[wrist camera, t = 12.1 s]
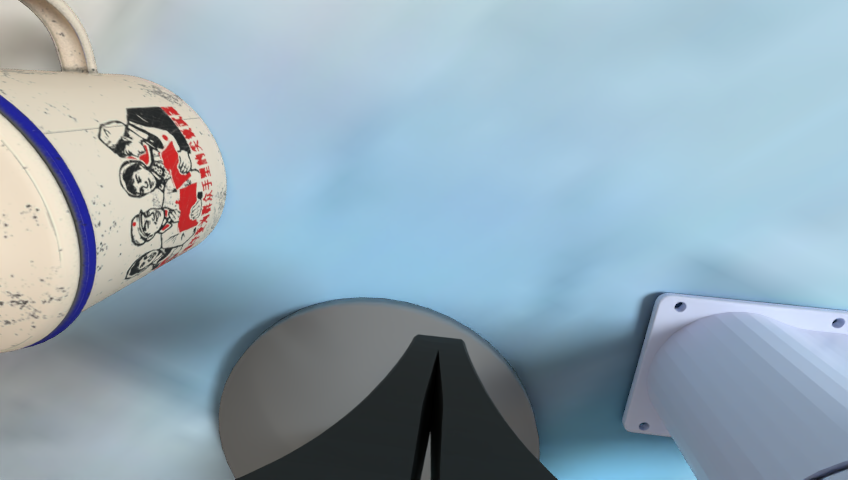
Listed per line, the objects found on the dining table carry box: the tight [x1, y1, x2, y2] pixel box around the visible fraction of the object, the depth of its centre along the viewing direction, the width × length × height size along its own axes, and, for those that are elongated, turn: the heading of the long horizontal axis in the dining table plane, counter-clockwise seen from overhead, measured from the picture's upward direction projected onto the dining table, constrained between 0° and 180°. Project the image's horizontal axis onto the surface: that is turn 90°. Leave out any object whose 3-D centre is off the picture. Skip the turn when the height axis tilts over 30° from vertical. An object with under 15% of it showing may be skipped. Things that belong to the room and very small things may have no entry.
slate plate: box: [219, 298, 540, 480], centre depth 24 cm, size 18×18×1 cm
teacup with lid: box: [0, 0, 227, 353], centre depth 15 cm, size 12×9×12 cm
